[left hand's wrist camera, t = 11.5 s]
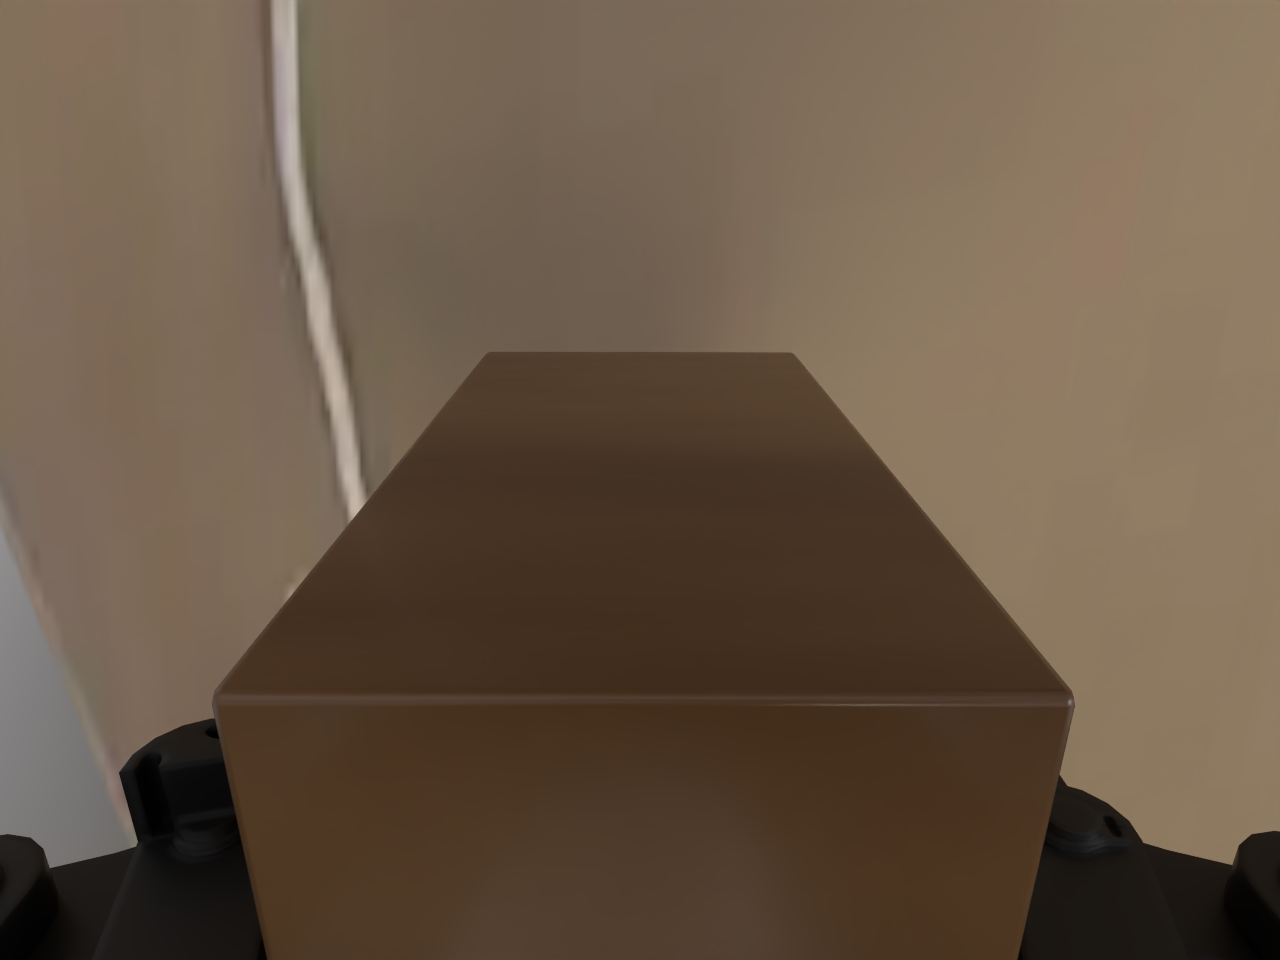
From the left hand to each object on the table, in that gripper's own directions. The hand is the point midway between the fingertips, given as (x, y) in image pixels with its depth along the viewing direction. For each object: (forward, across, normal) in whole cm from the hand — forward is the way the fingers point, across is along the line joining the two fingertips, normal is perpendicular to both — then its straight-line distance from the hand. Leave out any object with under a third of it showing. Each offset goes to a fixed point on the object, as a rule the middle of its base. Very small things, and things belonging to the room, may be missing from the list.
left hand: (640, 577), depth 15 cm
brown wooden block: (+1, 0, -8) cm, 8 cm away
